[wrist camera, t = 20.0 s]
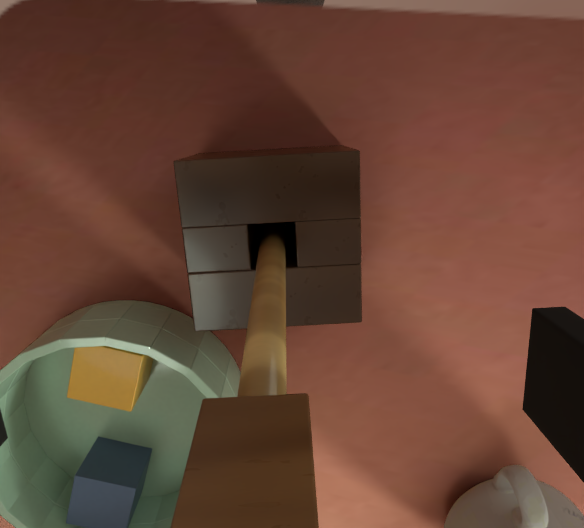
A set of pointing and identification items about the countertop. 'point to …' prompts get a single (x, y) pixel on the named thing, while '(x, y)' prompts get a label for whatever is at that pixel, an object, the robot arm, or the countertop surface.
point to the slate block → (108, 484)
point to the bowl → (106, 409)
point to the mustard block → (108, 376)
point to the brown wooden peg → (254, 426)
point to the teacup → (514, 504)
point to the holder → (271, 209)
